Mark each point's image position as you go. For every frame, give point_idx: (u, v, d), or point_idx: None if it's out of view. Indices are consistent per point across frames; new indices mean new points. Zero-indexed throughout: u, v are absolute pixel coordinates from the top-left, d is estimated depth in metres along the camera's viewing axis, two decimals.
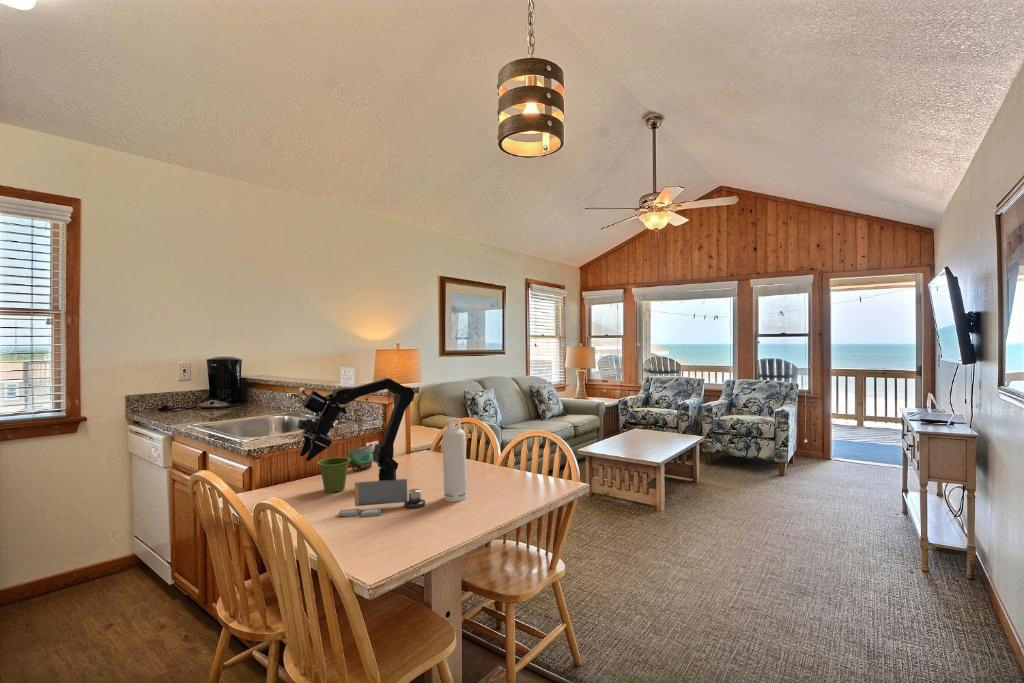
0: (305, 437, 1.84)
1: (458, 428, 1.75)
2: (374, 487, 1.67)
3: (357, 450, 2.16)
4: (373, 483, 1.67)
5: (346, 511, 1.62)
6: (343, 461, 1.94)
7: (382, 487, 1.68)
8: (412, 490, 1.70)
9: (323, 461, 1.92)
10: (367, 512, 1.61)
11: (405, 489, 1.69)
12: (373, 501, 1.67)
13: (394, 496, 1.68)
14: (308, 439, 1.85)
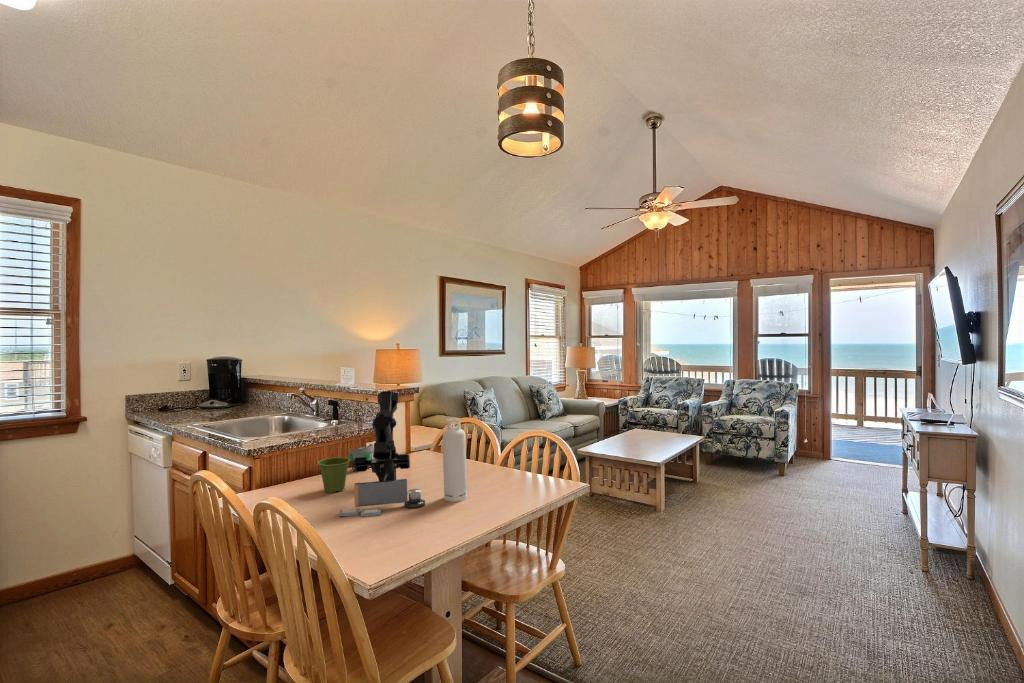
0: (379, 464, 1.72)
1: (458, 428, 1.75)
2: (374, 487, 1.67)
3: (357, 450, 2.16)
4: (373, 484, 1.66)
5: (346, 511, 1.62)
6: (343, 461, 1.94)
7: (382, 487, 1.67)
8: (412, 490, 1.70)
9: (323, 461, 1.92)
10: (367, 512, 1.61)
11: (405, 489, 1.69)
12: (373, 502, 1.66)
13: (395, 496, 1.68)
14: (380, 467, 1.73)
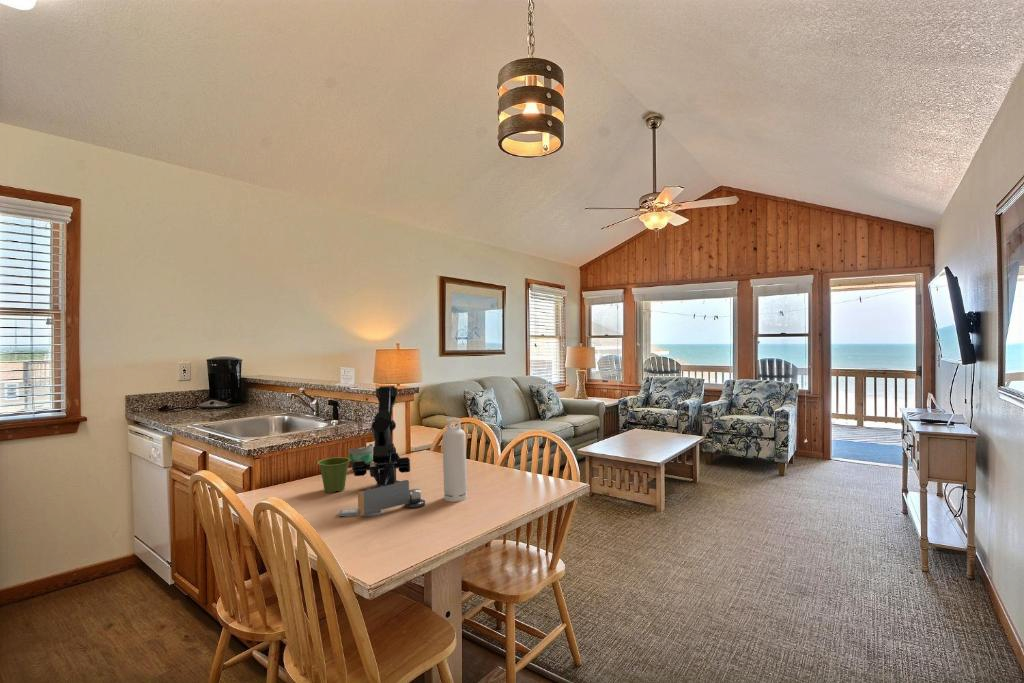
0: (378, 468, 1.67)
1: (458, 428, 1.75)
2: (379, 492, 1.61)
3: (357, 450, 2.16)
4: (378, 488, 1.61)
5: (346, 511, 1.62)
6: (343, 461, 1.94)
7: (386, 491, 1.63)
8: (412, 490, 1.70)
9: (323, 461, 1.92)
10: None
11: (407, 490, 1.68)
12: (378, 507, 1.61)
13: (398, 498, 1.66)
14: (378, 471, 1.68)
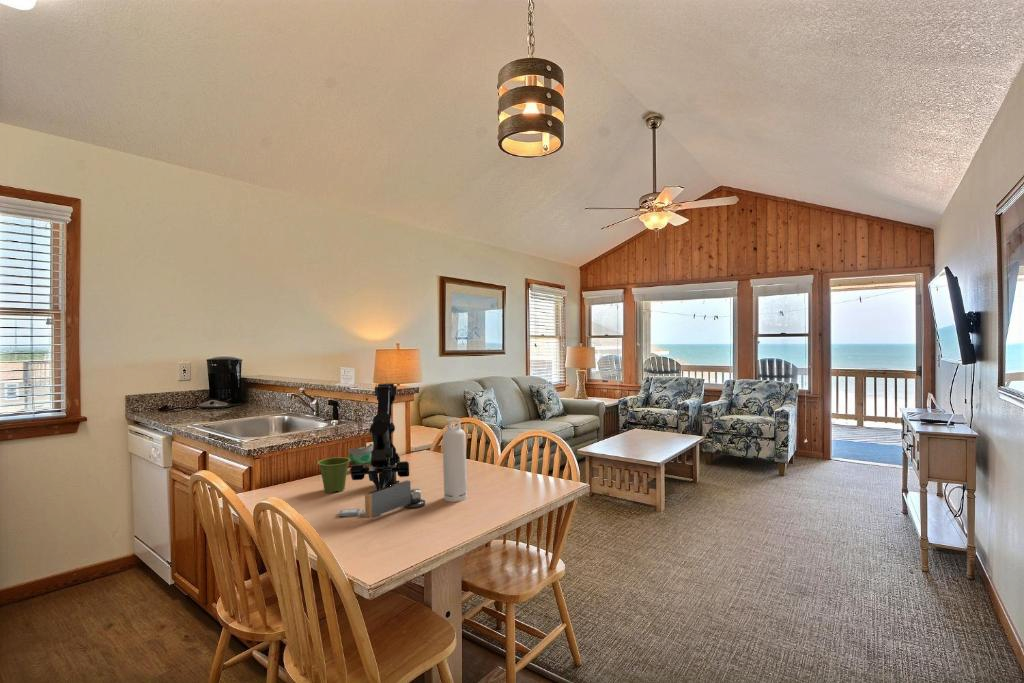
0: (377, 473, 1.63)
1: (458, 428, 1.75)
2: (385, 494, 1.59)
3: (357, 450, 2.16)
4: (384, 490, 1.59)
5: (346, 511, 1.62)
6: (343, 461, 1.94)
7: (391, 492, 1.61)
8: (412, 490, 1.70)
9: (323, 461, 1.92)
10: None
11: (409, 490, 1.67)
12: (384, 509, 1.59)
13: (401, 499, 1.65)
14: None
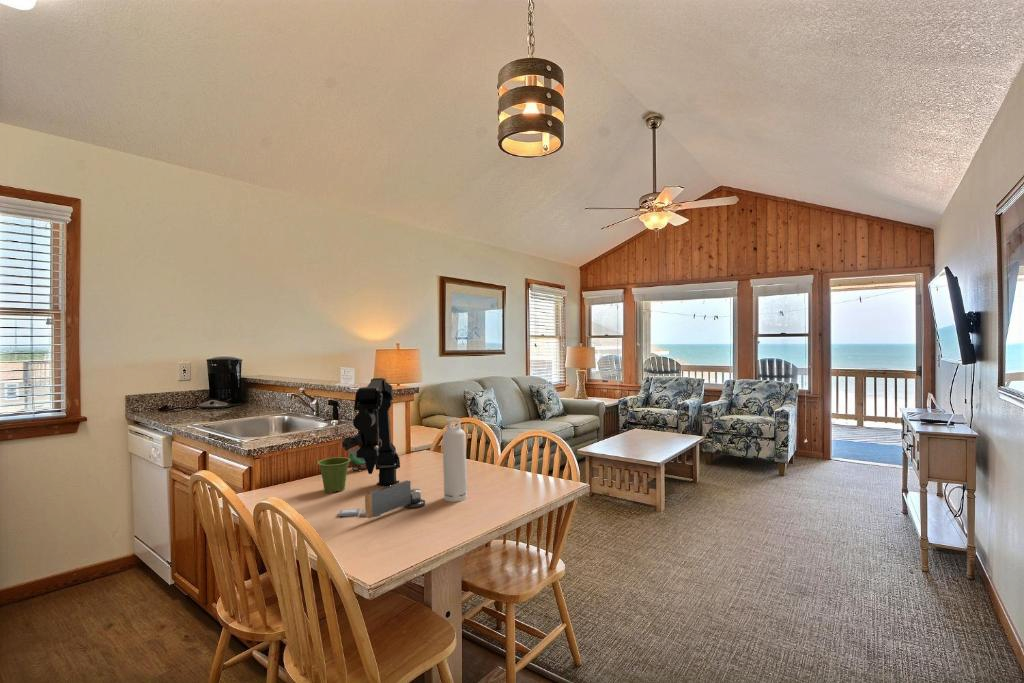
0: None
1: (458, 428, 1.75)
2: (385, 494, 1.59)
3: None
4: (384, 490, 1.59)
5: (346, 511, 1.62)
6: (343, 461, 1.94)
7: (391, 492, 1.61)
8: (412, 490, 1.70)
9: (323, 461, 1.92)
10: None
11: (409, 490, 1.67)
12: (384, 509, 1.59)
13: (401, 499, 1.65)
14: None
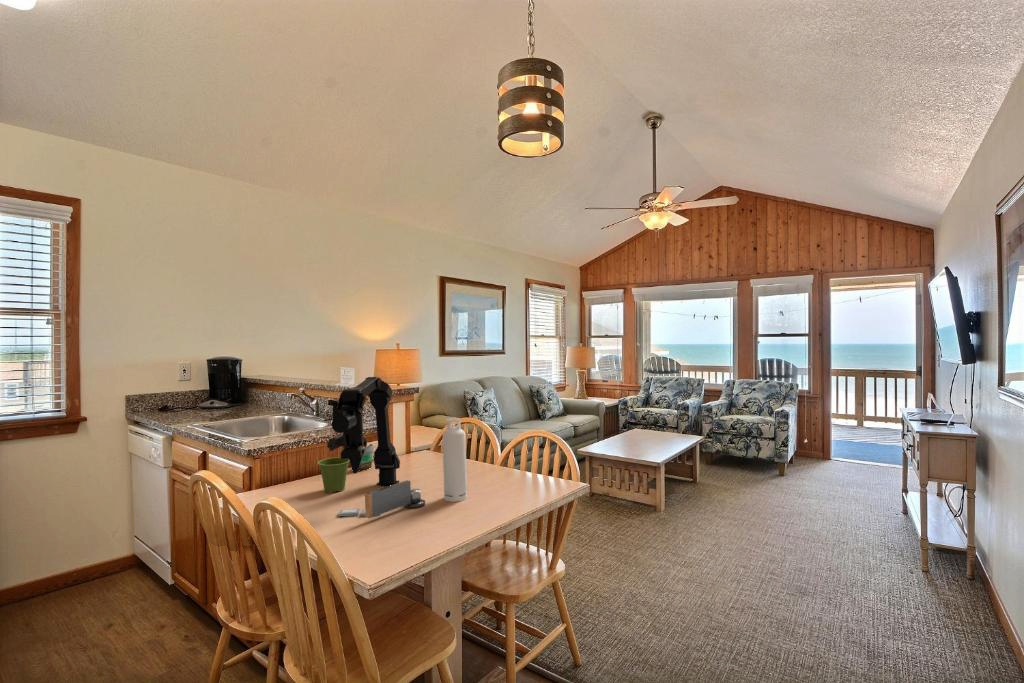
0: None
1: (458, 428, 1.75)
2: (385, 494, 1.59)
3: None
4: (384, 490, 1.59)
5: (346, 511, 1.62)
6: (343, 461, 1.94)
7: (391, 492, 1.61)
8: (412, 490, 1.70)
9: (323, 461, 1.92)
10: None
11: (409, 490, 1.67)
12: (384, 509, 1.59)
13: (401, 499, 1.65)
14: None
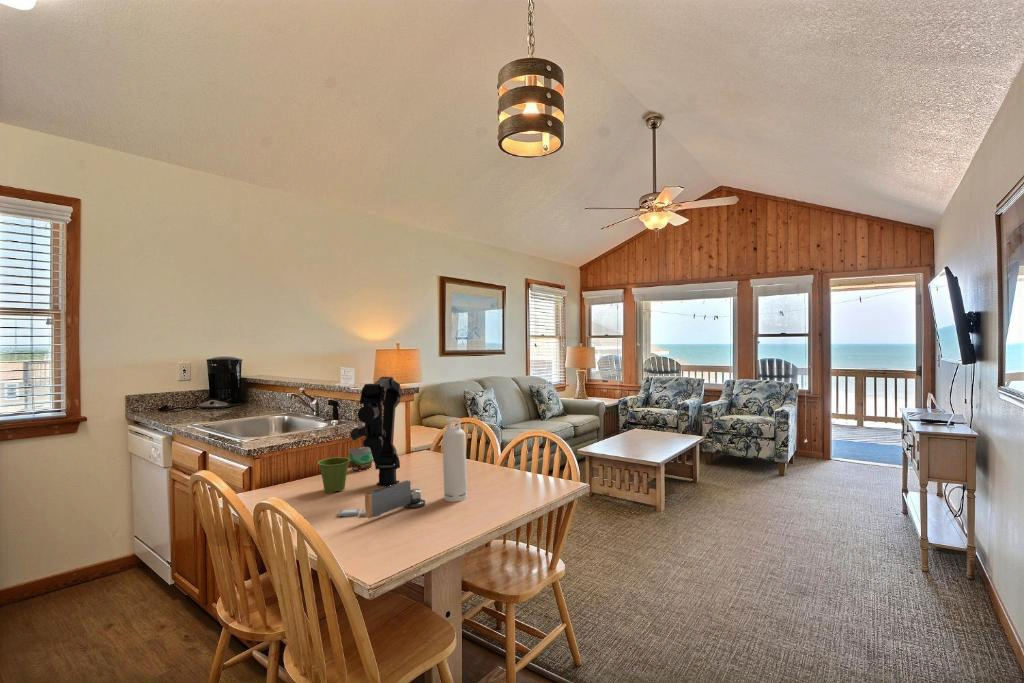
0: None
1: (458, 428, 1.75)
2: (385, 494, 1.59)
3: (357, 450, 2.16)
4: (384, 490, 1.59)
5: (346, 511, 1.62)
6: (343, 461, 1.94)
7: (391, 492, 1.61)
8: (412, 490, 1.70)
9: (323, 461, 1.92)
10: None
11: (409, 490, 1.67)
12: (384, 509, 1.59)
13: (401, 499, 1.65)
14: None
